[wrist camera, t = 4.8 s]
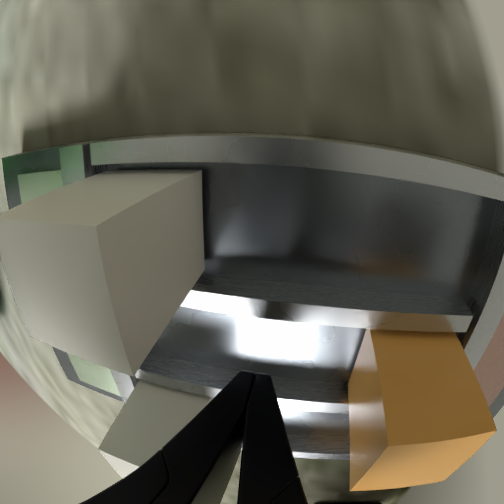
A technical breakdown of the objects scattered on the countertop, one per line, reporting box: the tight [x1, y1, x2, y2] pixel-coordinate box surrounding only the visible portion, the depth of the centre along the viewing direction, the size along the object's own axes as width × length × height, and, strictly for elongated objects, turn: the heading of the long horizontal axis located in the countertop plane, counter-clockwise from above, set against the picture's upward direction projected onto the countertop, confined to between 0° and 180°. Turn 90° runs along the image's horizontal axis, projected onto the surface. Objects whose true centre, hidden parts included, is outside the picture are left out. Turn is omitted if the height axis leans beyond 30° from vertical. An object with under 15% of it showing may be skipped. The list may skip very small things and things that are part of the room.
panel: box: [2, 132, 504, 460], centre depth 9 cm, size 13×24×2 cm, turn 88°
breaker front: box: [0, 170, 205, 377], centre depth 6 cm, size 3×3×4 cm
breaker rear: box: [98, 379, 213, 478], centre depth 10 cm, size 3×3×4 cm
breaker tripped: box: [348, 329, 497, 491], centre depth 7 cm, size 3×3×4 cm
